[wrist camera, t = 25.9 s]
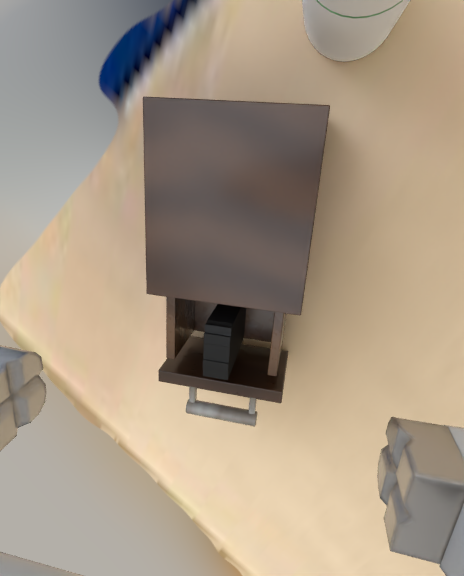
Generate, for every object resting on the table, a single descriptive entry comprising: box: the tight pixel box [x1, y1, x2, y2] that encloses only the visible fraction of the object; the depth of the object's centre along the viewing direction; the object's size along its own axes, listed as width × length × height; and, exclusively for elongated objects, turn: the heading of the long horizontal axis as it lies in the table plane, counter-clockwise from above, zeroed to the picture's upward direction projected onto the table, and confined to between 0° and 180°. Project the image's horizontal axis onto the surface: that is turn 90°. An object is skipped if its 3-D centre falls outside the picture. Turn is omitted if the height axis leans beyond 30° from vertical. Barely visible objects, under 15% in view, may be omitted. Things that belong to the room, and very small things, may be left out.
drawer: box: [159, 297, 288, 426], centre depth 36 cm, size 18×11×7 cm, turn 177°
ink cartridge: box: [203, 304, 246, 380], centre depth 34 cm, size 5×2×8 cm, turn 177°
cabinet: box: [143, 97, 330, 315], centre depth 32 cm, size 15×13×9 cm
